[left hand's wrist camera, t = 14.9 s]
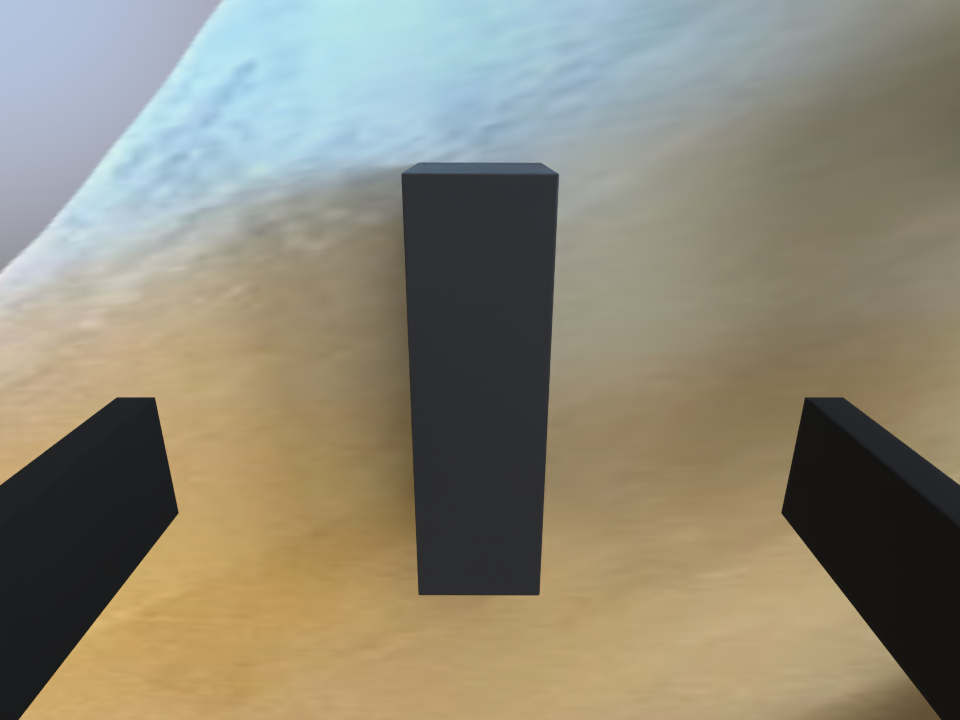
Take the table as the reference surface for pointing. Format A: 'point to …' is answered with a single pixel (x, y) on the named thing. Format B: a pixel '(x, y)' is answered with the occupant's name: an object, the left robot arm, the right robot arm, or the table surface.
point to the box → (479, 369)
